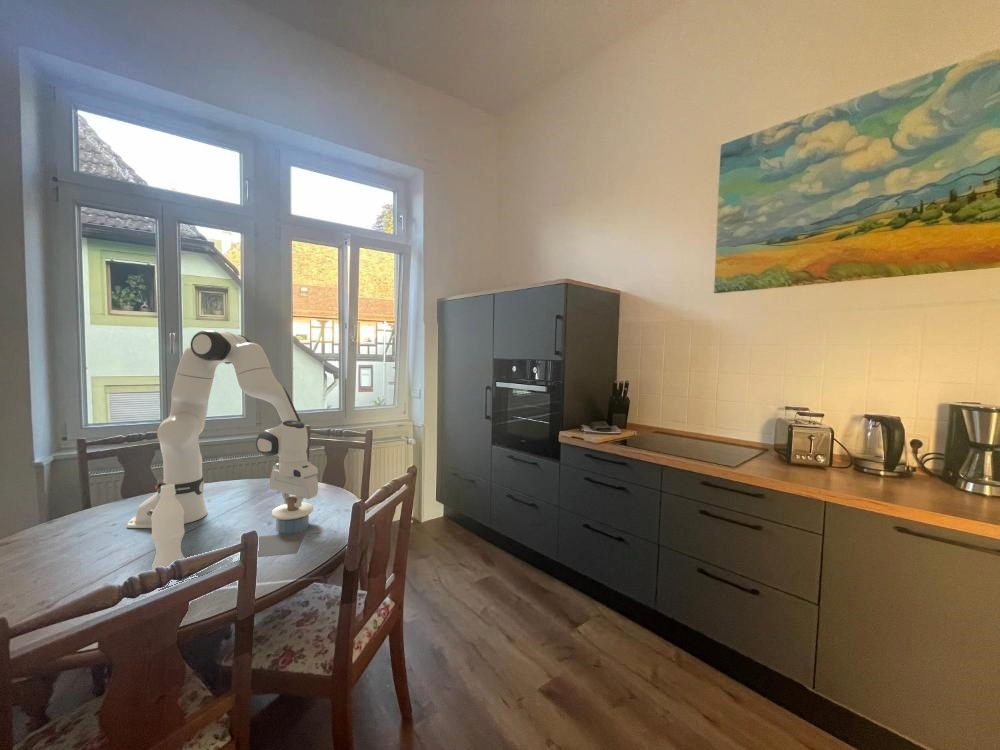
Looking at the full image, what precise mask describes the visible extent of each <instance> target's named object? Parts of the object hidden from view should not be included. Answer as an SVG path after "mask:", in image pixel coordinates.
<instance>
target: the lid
mask: <svg viewBox="0 0 1000 750" xmlns="http://www.w3.org/2000/svg"><path fill="white" fill-rule="evenodd" d="M296 501H297V498H296V496H295V495H292V496H290V497H289V498H288V499H287V505H286V504H284V503H283V504H281V505H280V504H279V506H276V507H275V508H273V509H272V511H271V517H272V518H274V519H275V520H276V519H281V520H290V519H297V518H301V517H304V516H307V515H309V516H310V514H312V513H313V511H314V505H313V504H312V503H310V502H304V501H302V506H301V507H299V508H297V507H294V502H296Z"/></svg>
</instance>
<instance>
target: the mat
mask: <svg viewBox="0 0 1000 750" xmlns="http://www.w3.org/2000/svg"><path fill="white" fill-rule="evenodd" d="M305 535H306V532H297V533H292V534H275V535H261V536H259V537H258V538H259V551H258V557H257V558H259V557H260V558H261V557H270V556H271V557H272V556H281V555H282V556H283V555H293V554H294V555H295V554H297V553H298V551H299V549H300V546H301V545H302V541H303V540H304V538H305V537H304V536H305Z"/></svg>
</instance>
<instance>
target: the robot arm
mask: <svg viewBox="0 0 1000 750" xmlns="http://www.w3.org/2000/svg"><path fill="white" fill-rule="evenodd" d="M222 363H223V364H228V365H229V364H231V365H232V366H233V369H234V371H235V375H236V378H237V382H238V385H239V387H240V389H241V391H242V392H243V393H244V394H246V395H248V396H250V397H251V398H255V399H259V400H262V401H265V402H268V403H270V404H272V406H273V407H274V408H275V409H276V411H277V414H278V416H279V417H280V421H281V423H280V424H279V425H276V426H274V427H272V428H267V429H264V430H262V431H261V432H259V434H258V435H257V436H256V441H255V446H256V449H257V451H258V453H259V454H260V455H262V456H264V457H274V456H278V458H279V459H278V463H275V464H274V465H273V466H272V470H271V472H270V473H271V474H270V479H269V487H270V489H271V490H273V491H277V492H280V493H281V496H282V498H283V500H284V503H283V504H286V505H287V499H288V498H289V497H291V496H290V495H292V496H296V498H297V501H296V502H294V507H297V508H299V507H301V506H302V502H304V499H306V500H310V499H312V498H315V497H316V496H317V495H318V493H319V492H318V491H319V479H318V476H317V474H318V473H319V469H318V467H316V466H315V465H314V464H312V463H311V462H310V461H309V460H308V453H307V449H308V441H309V432H308V429H307V426H306V424H305V423H303V422H302V420H301V419H300V417H299V415H298V412H297V410H296V408H295V406H294V403H293V401H292V399H291V397H290V395H289V393H288V392H287V390H286V388H285V387H284V385H282V384H281V383H280V382H279V381H278V380H277V378H276V377H275V375H274V373H273V370H272V367H271V363H270V361H269V359H268V356H267V354H266V353H265V351H264V349H263V347H262V346H261V345H260V344H258V343H257V342H256V343H255V342H252V341H251V339H249V338H247V337H245V336H243V335H242V334H236V333H233V332H230V331H229V332H228V331H216V330H213V329H212V330H211V329H209V330H202V331H201V330H200V331H199V332H196V333H195V334H194V335H193V336H192V338H191V340H190V346H188V347H187V348H185V349H184V351H183V353H182V356H181V358H180V360H179V362H178V365H177V369H176V372H175V376H174V381H173V385H172V389H171V393H170V394H171V395H170V396H171V401H170V402H171V403H170V404H171V405H170V410H169V411H170V412H169V416H168V417H167V418H165V419H164V420H162V422H161V423H160V425H159V426H158V428H157V432H156V435H157V439H158V441H159V446H160V451H161V455H162V461H163V464H162V467H163V479H162V480H161V481H160V482H159V483H157V485H155V486H154V487H155V490H157V492H156V493H154V494H153V495H151V496H150V497H149V498H147V499H145V501H143V502H142V503H140V504H139V506H138V508H137V509H136V514H135V516H132V518H131V519H130V520H128V521H127V523H126V524H127V525H126V527H127V528H129V529H152V520H151V516H152V513H153V511H154V509H155V507H156V506H157V504H158V503H159V501H160V497H161V496H159V495H160V494H161V493H160V492H161V486H163V485H167V484H174V485H175V492H176V494H175V497H176V499H177V500H178V501H179V503H180V504H181V505H182V507H183V509H184V525H185V524H189V523H193V522H195V521H197V520H200V519H203V518H204V517H205V516H207V515H208V513H209V512H208V509H207V507H206V503H205V497H204V489H205V481H204V476H203V456H202V454H201V453H202V452H201V449H200V448H201V447H200V441H199V439H200V438H199V436H200V434H201V433H203V431H204V429H205V425H206V420H207V414H208V407H209V401H210V394H211V391H212V387H213V382H214V378H215V372H216V369H217V367H218V366H219V365H220V364H222Z"/></svg>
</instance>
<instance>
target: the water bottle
mask: <svg viewBox="0 0 1000 750" xmlns="http://www.w3.org/2000/svg"><path fill="white" fill-rule="evenodd" d="M160 493H161V494H160V495H159V496H161V497H160V501H159V503H158V504H157V506H156V507H155V509H154V511H153V513H152V516H151V520H152V528H151V535H150V536H151V537H150V539H151V540H152V542H153V544H154V546H155V547H154V548H155V556H154V559H153V562H152V564H151V570H152V569H154V568H156V567H158V566H164V567H167V566H169V565H170V564H171V563H172V562H173V561H175V560H178V559H183V558H185V556H184V554H183V552H182V541H183V538H184V536H185V534H186V533H185V531H186V529H185V524H184V509H183V507H182V505H181V504H180V503H179V501H178V500H177V499H176V497H175V494H176V492H175V485H174V484H167V485H163V486H161V492H160ZM185 559H186V558H185Z"/></svg>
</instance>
